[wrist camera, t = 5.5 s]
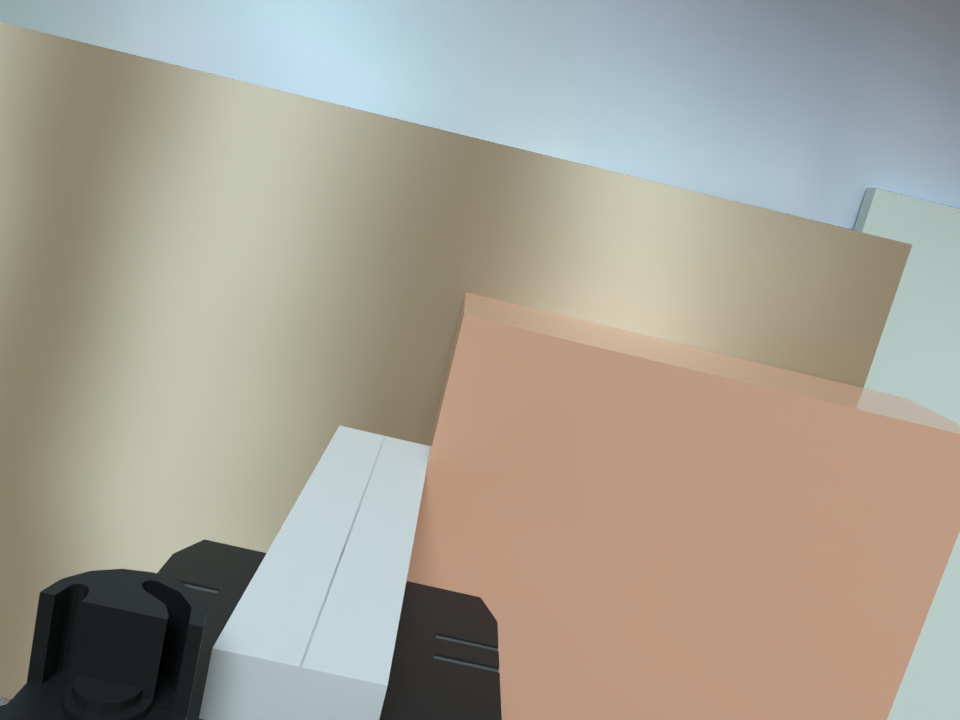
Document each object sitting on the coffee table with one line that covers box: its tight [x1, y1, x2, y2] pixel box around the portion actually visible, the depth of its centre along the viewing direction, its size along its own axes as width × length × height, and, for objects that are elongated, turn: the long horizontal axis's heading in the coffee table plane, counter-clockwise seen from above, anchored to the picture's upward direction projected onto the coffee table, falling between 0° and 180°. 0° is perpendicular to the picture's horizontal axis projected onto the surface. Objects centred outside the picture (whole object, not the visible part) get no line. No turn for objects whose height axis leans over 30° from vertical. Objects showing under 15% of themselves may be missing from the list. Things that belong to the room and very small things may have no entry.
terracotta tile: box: [406, 292, 960, 720], centre depth 14 cm, size 8×7×2 cm
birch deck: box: [0, 22, 912, 699], centre depth 16 cm, size 16×12×3 cm
